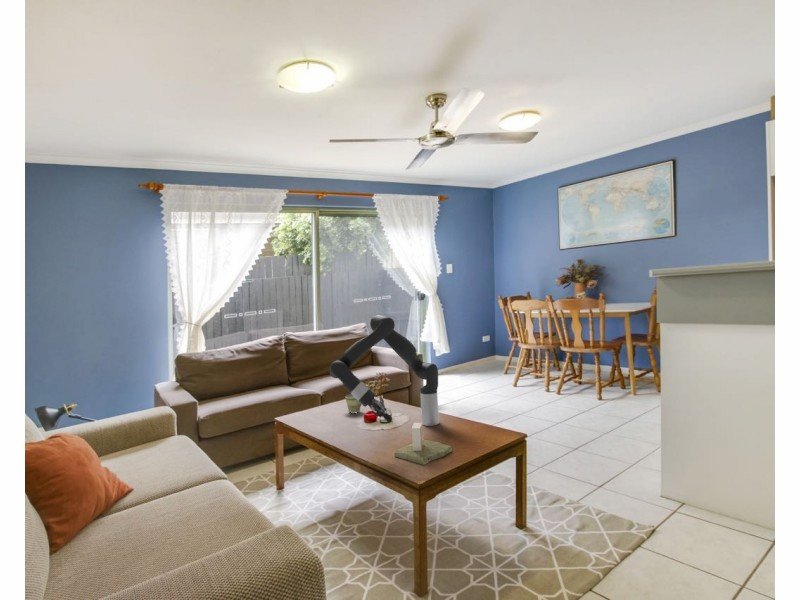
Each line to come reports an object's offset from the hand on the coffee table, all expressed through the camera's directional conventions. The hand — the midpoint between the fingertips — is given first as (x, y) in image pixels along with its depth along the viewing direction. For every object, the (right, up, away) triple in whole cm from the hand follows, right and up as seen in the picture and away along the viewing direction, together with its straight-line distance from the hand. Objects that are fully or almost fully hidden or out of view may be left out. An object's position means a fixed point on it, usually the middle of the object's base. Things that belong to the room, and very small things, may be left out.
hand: (390, 420), depth 201 cm
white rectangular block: (+12, -12, -1) cm, 17 cm away
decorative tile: (+15, -15, -2) cm, 22 cm away
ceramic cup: (-22, -14, +70) cm, 74 cm away
